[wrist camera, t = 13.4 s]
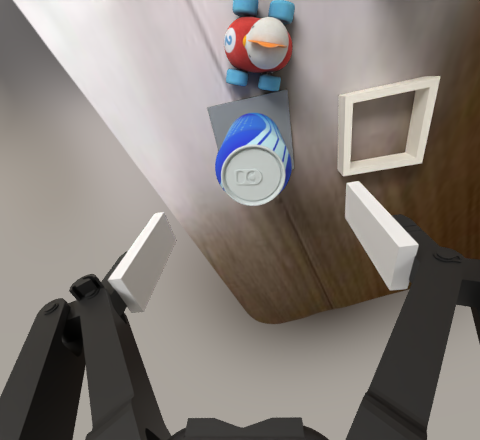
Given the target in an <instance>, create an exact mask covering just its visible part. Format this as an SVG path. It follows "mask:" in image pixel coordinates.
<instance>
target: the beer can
mask: <svg viewBox="0 0 480 440" xmlns="http://www.w3.org/2000/svg"><path fill="white" fill-rule="evenodd" d="M291 168H292V164H291V157H290V154H289V151H288V149H287V147H286V145H285V142H284V140H283V138H282V136H281V134H280V131H279V129H278V127H277V125H276V124H275V123H274V121H273V120H272V119H270V118H269V117H268V116H266V115H263V114H260V113H248V114H245V115H242V116H241V117H239V118H238V119H236V120H235V121H234V122H233V124H232V125H231V127H230V128H229V130H228V133H227V135H226V137H225V139H224V141H223V143H222V146H221V148H220V150H219V152H218V155H217V158H216V164H215V170H216V176H217V179H218V182H219V184H220V186H221V187H222V189H223V190H224V191H225V192H226V193H227V194H228V195H229V196H230V197H231V198H232V199H233V200H235V201H236V202H238V203H240V204H243V205H248V206H258V205H263V204H265V203H268V202H270V201H271V200H273V199H274V198H275V197H276V196H277V195H278V194H279V193H280V192H281V191H282V190H283V189H284V188H285V186H286V185H287V183H288V181H289V178H290V175H291Z"/></svg>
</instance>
